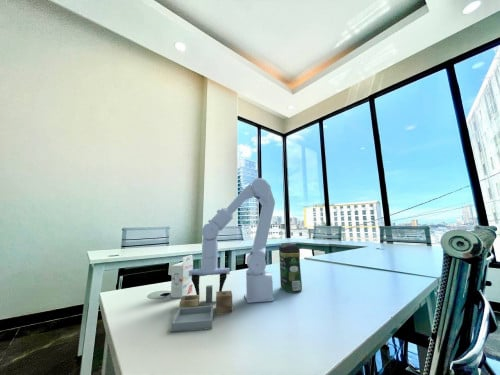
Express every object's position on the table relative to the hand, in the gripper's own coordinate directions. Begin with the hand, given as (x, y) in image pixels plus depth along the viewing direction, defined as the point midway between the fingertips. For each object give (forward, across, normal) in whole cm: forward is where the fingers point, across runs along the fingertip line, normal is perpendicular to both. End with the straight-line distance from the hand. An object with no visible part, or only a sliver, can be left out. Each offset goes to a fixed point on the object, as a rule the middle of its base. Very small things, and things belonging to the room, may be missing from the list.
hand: (209, 296), depth 74 cm
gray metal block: (+2, 0, 0) cm, 2 cm away
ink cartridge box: (+2, +11, -10) cm, 15 cm away
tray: (+2, +4, +16) cm, 16 cm away
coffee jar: (+2, -33, -7) cm, 34 cm away
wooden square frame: (+2, +6, +5) cm, 8 cm away
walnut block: (+2, -5, +9) cm, 10 cm away
